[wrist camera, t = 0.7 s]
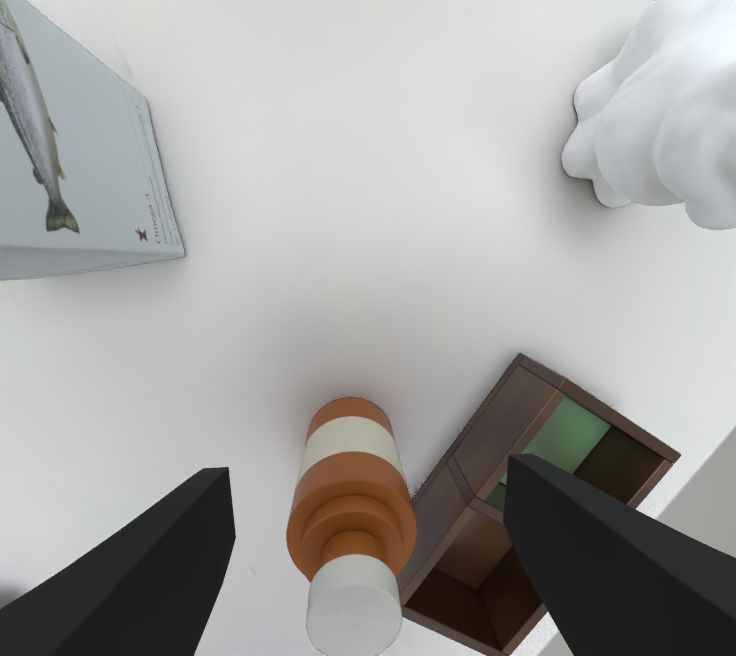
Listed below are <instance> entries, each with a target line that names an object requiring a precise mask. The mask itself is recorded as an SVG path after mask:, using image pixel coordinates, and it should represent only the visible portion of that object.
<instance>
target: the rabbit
mask: <svg viewBox="0 0 736 656" xmlns="http://www.w3.org/2000/svg"><path fill="white" fill-rule="evenodd" d="M574 105H575V109H576V111H577V115H578V125H577V127H576V129H575V130H574V131H573V132H572V134H571V136H570V138H569V140H568V141H567V143H566V145H565V148H564V149H563V152H562V156H561V160H562V163H563V168H564V170H565V171H566V172H567V173H568V175H569V176H571V177H576V178H588V179H591V180H592V181H593V186H594V190H595V193H596V196H597V199H598V200H599V201H600V202H601V203H602V204H604V205H605V206H607V207H610V208H615V207H622V206H625V205H627V204H629V203H630V202H634V203H638V204H642V205H649V206H665V205H672V204H678V203H682V202H685V208H686V212H687V214H688V216H689V218H690V219H691V220H692V222H693V223H695V224H696V225H698V226H700V227H702V228H706V229H710V230H724V229H731V228H736V0H655V1H654V2H653V3H652V4H650V5H649V6H648V7H647V8H646V9H645V11H644V12H643V13H642V14H641V16H640V17H639V18H638V20H637V22H636V24H635V25H634V27H633V28H632V30H631V31H630V33H629V35H628V37H627V39H626V41H625V43H624V45H623V47H622V49H621V51H620V53H619V55H618V56H617V58H615V59H614V60H612V61H610V62H609V63H607V64H606V65H605V66H603V67H602V68H601V69H600V70H598V71H597V72H595V73H594V74H592V75H591V76H589V77H587V78H586V79H585V80H583V81H582V82H581V83H580V84H579V86H578V87H577V89H576V91H575V95H574Z"/></svg>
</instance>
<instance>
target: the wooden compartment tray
mask: <svg viewBox="0 0 736 656" xmlns="http://www.w3.org/2000/svg"><path fill="white" fill-rule="evenodd" d="M529 453H531V454H534V455H536V456H538V457H540V458H542V459H544V460H546V461H548V462H550V463H552V464H554V465H555V466H557V467H559V468H561V469H563V470H565V471H566V472H568V473H570V474H572V475H574V476H575V477H577V478H579V479H581V480H582V481H584V482H586V483H588V484H590V485H591V486H593V487H595V488H597V489H599V490H600V491H602V492H604V493H606V494H608V495H609V496H611V497H613V498H615V499H617V500H619V501H621V502H622V503H624V504H626V505H628V506H630V507H632V508H634V509H636V508H637V507H638V506H639V504H640V503H641V502H642V501H643V500H644V499H645V497H646V496H647V495H648V494H649V493H650V492H651V490H652V489H653V488H654V487H655V486H656V485H657V483H658V482H659V481H660V480H661V479H662V478H663V476H664V475H665V474H666V473H667V472H668V471H669V469H670V468H671V467H672V466H673V464H674V463H675V462H676V461H677V460H678V459H679V458H680V456H681V454H680V453H679V452H677V451H676V450H674V449H673V448H671V447H670V446H668V445H667V444H665V443H664V442H662V441H661V440H659V439H658V438H656V437H655V436H653V435H652V434H650V433H649V432H647V431H645V430H644V429H642V428H641V427H639V426H638V425H636V424H635V423H633V422H632V421H630V420H629V419H627V418H626V417H624V416H623V415H621V414H620V413H618V412H617V411H615V410H614V409H612V408H611V407H609V406H608V405H606V404H605V403H603V402H602V401H600V400H599V399H597V398H596V397H594V396H593V395H591V394H590V393H588V392H587V391H585V390H584V389H582V388H581V387H579V386H578V385H576V384H574V383H573V382H571V381H570V380H568V379H567V378H565V377H564V376H562V375H560V374H558V373H556V372H554V371H553V370H551V369H549V368H547V367H545V366H544V365H542V364H540V363H538V362H536V361H534V360H533V359H531V358H529V357H527V356H525V355H524V354H522V353H519V354H518V356H517V357H516V359H515V360H514V361H513V363H512V364H511V365H510V367H509V368H508V369H507V371H506V372H505V374H504V375H503V376H502V378H501V379H500V380H499V382H498V383H497V384H496V386H495V387H494V389H493V390H492V391H491V393H490V394H489V395H488V397H487V398H486V399H485V401H484V402H483V404H482V405H481V406H480V408H479V409H478V410H477V412H476V413H475V415H474V416H473V417H472V419H471V420H470V421H469V423H468V424H467V425H466V427H465V428H464V430H463V431H462V432H461V434H460V435H459V436H458V438H457V439H456V440H455V442H454V443H453V445H452V446H451V447H450V449H449V450H448V451H447V453H446V454H445V456H444V457H443V458H442V460H441V461H440V462H439V464H438V465H437V466H436V468H435V469H434V471H433V472H432V473H431V475H430V476H429V477H428V479H427V480H426V481H425V483H424V484H423V486H422V487H421V488H420V490H419V491H418V492H417V494H416V495H415V496H414V498H413V499H412V501H411V504H412V507H413V511H414V515H415V519H416V524H417V539H416V543H415V547H414V550H413V552H412V554H411V556H410V558H409V560H408V561H407V563H406V564H405V565H404V566H403V568H402V569H401V570H400V571H399V573H398V575H397V576H396V582H397V586H398V593H399V599H400V606H401V612H402V617H404V618H407V619H409V620H411V621H413V622H415V623H417V624H420V625H422V626H424V627H426V628H428V629H430V630H432V631H435V632H437V633H439V634H441V635H443V636H445V637H448V638H450V639H452V640H454V641H456V642H458V643H461V644H463V645H465V646H467V647H469V648H471V649H474V650H476V651H478V652H480V653H482V654H484V655H487V656H509V655H511V654H512V653H513V651H514V650H515V649H516V648H517V647H518V646H519V644H520V643H521V642H522V641H523V640H524V639H525V637H526V636H527V635H528V634H529V633H530V632H531V630H532V629H533V628H534V627H535V626H536V625H537V623H538V622H539V621H540V620H541V619H542V618H543V616H544V615H545V614H546V613H547V612H548V610H547V609H546V607H545V605H544V603H543V602H542V600H541V598H540V596H539V595H538V593H537V591H536V589H535V588H534V586H533V584H532V582H531V581H530V579H529V577H528V575H527V573H526V572H525V570H524V568H523V566H522V564H521V562H520V560H519V558H518V556H517V554H516V551H515V549H514V547H513V545H512V542H511V540H510V538H509V535H508V533H507V530H506V528H505V526H504V523H503V515H504V503H505V491H506V479H507V466H508V454H529ZM672 463H673V464H672Z"/></svg>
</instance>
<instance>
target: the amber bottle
mask: <svg viewBox="0 0 736 656" xmlns="http://www.w3.org/2000/svg"><path fill="white" fill-rule="evenodd" d="M416 539H417V524H416V519H415V515H414V511H413V507H412V504H411V500H410V496H409V492H408V488H407V484H406V480H405V476H404V472H403V469H402V465H401V461H400V457H399V454H398V450H397V446H396V443H395V439H394V435H393V432H392V428H391V424H390V422H389V419H388V418H387V416H386V414H385V413H384V412H383V411H382V410H381V409H380V408H379V407H378V406H376V405H375V404H373V403H372V402H370V401H367V400H364V399H360V398H342V399H338V400H335V401H332V402H330V403H328V404H327V405H325V406H324V407H322V408H321V409H320V410H319V411H318V412H317V413H316V415H315V416H314V418H313V419H312V421H311V423H310V426H309V430H308V434H307V439H306V444H305V448H304V452H303V456H302V461H301V465H300V470H299V474H298V479H297V483H296V488H295V493H294V498H293V503H292V507H291V512H290V516H289V521H288V526H287V532H286V541H287V547H288V550H289V553H290V556H291V558H292V560H293V562H294V564H295V565H296V566H297V568H298V569H299V570H300V571H301V572H302V573H303V574H304V575H305V576H306V578H307V579H308V580H309V582H310V583H311V585H310V590H309V598H308V607H307V616H306V630H307V634H308V637H309V639H310V641H311V643H312V644H313V645H314V646H315V647H316V648H317V649H318V650H319V651H320V652H321V653H323V654H325V655H326V656H376V655H378V654H380V653H381V652H383V651H384V650H385V649H387V648H388V647H389V646H390V645H391V644H392V643H393V642H394V640H395V639H396V637H397V636H398V634H399V631H400V628H401V624H402V612H401V606H400V599H399V593H398V586H397V582H396V576H397V575H398V573H399V571H400V570H401V569H402V568H403V566H404V565H405V564H406V563H407V561H408V560H409V558H410V556H411V554H412V552H413V550H414V547H415V543H416Z"/></svg>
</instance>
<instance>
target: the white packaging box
mask: <svg viewBox="0 0 736 656" xmlns="http://www.w3.org/2000/svg"><path fill="white" fill-rule="evenodd" d="M184 256H185V251H184V248H183V245H182V242H181V239H180V235H179V232H178V229H177V225H176V222H175V218H174V215H173V211H172V207H171V204H170V200H169V196H168V192H167V188H166V184H165V180H164V176H163V172H162V167H161V163H160V159H159V155H158V150H157V146H156V142H155V138H154V133H153V129H152V124H151V119H150V115H149V110H148V105H147V101H146V98H145V97H144V96H143V95H142V94H141V93H139V92H138V91H137V90H136V89H135V88H133V87H132V86H131V85H130V84H128V83H127V82H126V81H125V80H123V79H122V78H121V77H120V76H119V75H117V74H116V73H115V72H114V71H113V70H111V69H110V68H109V67H108V66H106V65H105V64H104V63H103V62H101V61H100V60H99V59H98V58H96V57H95V56H94V55H93V54H91V53H90V52H89V51H88V50H87V49H85V48H84V47H83V46H82V45H81V44H79V43H78V42H77V41H76V40H75V39H73V38H72V37H71V36H69V35H68V34H67V33H66V32H64V31H63V30H62V29H61V28H59V27H58V26H57V25H56V24H54V23H53V22H52V21H51V20H50V19H48V18H47V17H46V16H45V15H43V14H42V13H41V12H40V11H39V10H37V9H36V8H35V7H34V6H32V5H31V4H30V3H29V2H27V1H26V0H0V281H2V280H18V279H34V278H43V277H51V276H58V275H66V274H74V273H82V272H89V271H97V270H104V269H111V268H117V267H124V266H131V265H137V264H144V263H151V262H157V261H164V260H170V259H176V258H182V257H184Z"/></svg>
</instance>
